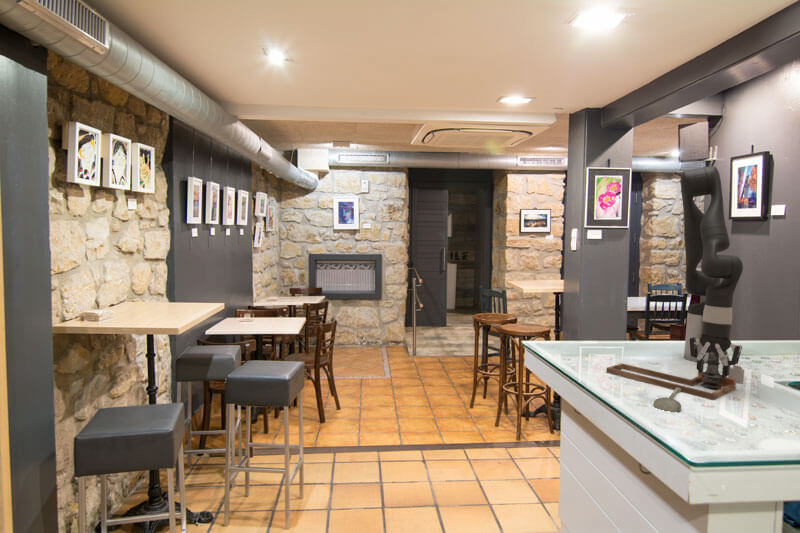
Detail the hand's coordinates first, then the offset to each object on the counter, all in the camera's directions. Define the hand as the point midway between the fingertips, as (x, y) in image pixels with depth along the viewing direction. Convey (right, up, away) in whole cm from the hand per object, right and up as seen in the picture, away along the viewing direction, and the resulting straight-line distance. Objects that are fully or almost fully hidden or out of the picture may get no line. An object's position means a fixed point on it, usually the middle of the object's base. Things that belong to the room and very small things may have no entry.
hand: (712, 374), depth 156 cm
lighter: (+10, -4, +8) cm, 14 cm away
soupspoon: (-20, -5, -14) cm, 24 cm away
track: (-10, -3, +6) cm, 12 cm away
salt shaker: (0, -4, 0) cm, 4 cm away
